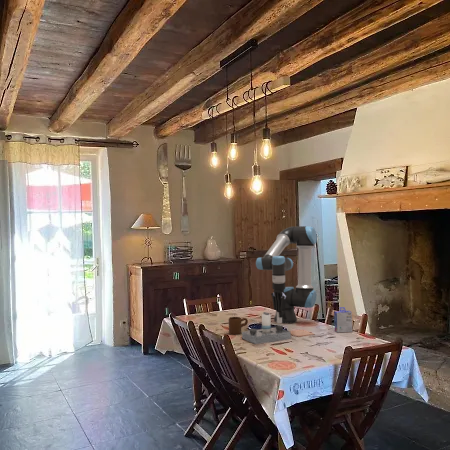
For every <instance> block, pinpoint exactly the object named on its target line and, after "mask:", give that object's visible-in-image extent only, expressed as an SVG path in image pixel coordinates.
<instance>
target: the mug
mask: <svg viewBox="0 0 450 450" xmlns="http://www.w3.org/2000/svg"><path fill="white" fill-rule="evenodd" d="M244 321H245V322H244ZM242 322H244V323H242ZM248 323H249V320H248V318H247V317H239V316H230V317H229V318H228V334H230V335H234V336H236V335H241V334H242V328H243V327H245V326H247V325H248Z"/></svg>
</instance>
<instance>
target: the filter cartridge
mask: <svg viewBox="0 0 450 450" xmlns="http://www.w3.org/2000/svg"><path fill="white" fill-rule="evenodd" d="M271 318H272V317H271V314H270V313H269V312H267V311H263V312H262V314H261V329H262V333H264V334H266V333H271V328H272V325H271V321H272V319H271Z"/></svg>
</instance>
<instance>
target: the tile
mask: <svg viewBox="0 0 450 450" xmlns="http://www.w3.org/2000/svg"><path fill="white" fill-rule="evenodd" d="M290 332H291V336H293V337H296V338H301V337H308V336H314V335H315V333H314V332H311V331H308V330H304V329H298V330H297V329H296V330H290Z"/></svg>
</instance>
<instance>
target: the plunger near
mask: <svg viewBox="0 0 450 450" xmlns="http://www.w3.org/2000/svg"><path fill="white" fill-rule="evenodd" d="M257 330H258V329H256V328H250V329H249V330H248V331H250V333H251V334H252V335H253V334H255V333H257Z"/></svg>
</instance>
